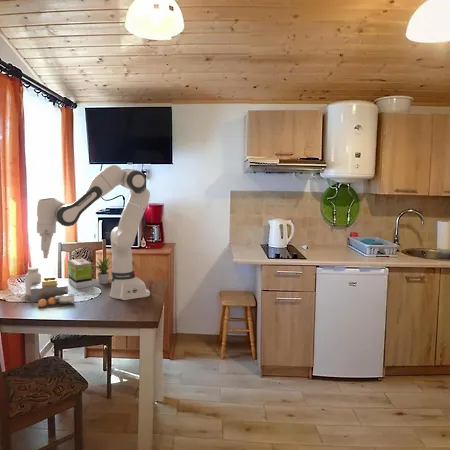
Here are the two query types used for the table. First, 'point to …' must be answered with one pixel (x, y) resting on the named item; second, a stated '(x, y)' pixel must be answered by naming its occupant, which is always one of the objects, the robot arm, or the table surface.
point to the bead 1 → (42, 302)
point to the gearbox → (48, 289)
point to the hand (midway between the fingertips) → (46, 256)
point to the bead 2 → (51, 301)
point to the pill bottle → (31, 279)
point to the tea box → (80, 273)
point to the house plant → (103, 271)
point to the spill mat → (55, 305)
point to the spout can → (65, 299)
